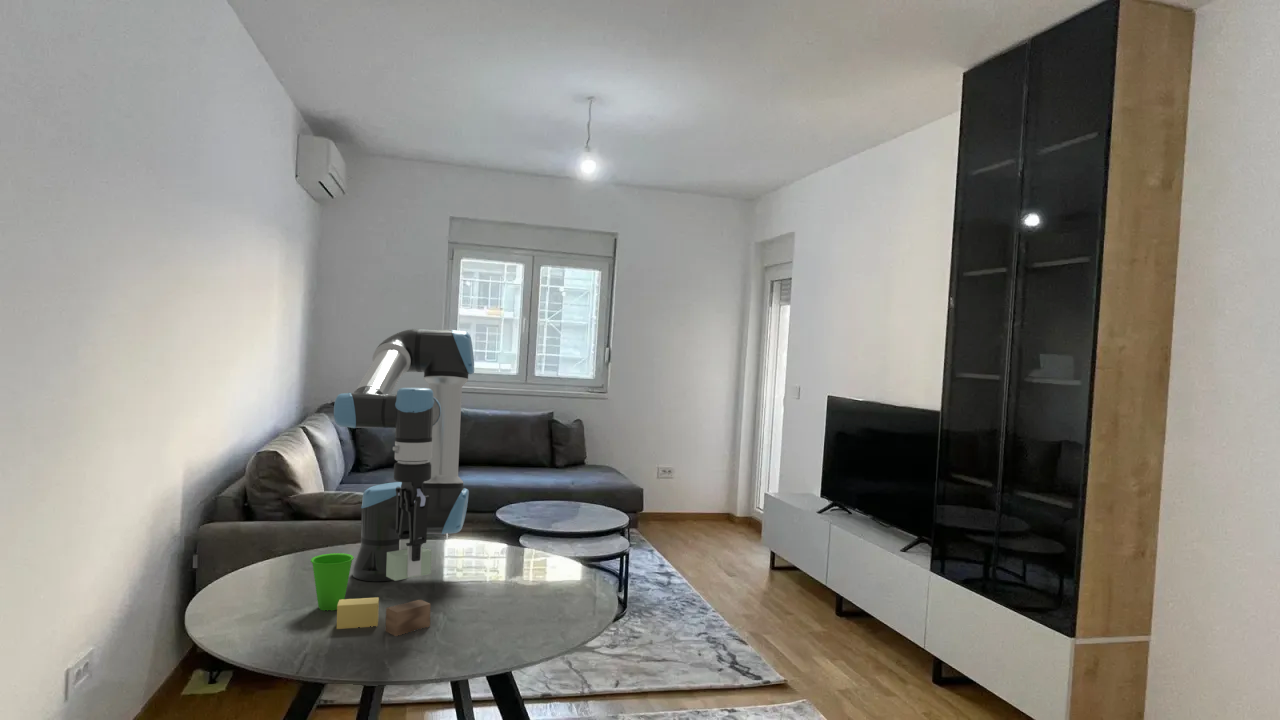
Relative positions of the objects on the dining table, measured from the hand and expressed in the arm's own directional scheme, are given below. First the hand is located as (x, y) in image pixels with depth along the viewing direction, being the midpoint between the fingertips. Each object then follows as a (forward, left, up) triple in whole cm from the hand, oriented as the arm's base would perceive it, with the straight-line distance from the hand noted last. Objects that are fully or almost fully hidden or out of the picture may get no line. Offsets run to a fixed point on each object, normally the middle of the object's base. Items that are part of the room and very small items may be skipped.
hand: (409, 572), depth 158 cm
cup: (-22, -10, -12) cm, 27 cm away
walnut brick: (0, 0, -12) cm, 12 cm away
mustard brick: (-8, -8, -12) cm, 16 cm away
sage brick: (0, 0, 0) cm, 1 cm away
